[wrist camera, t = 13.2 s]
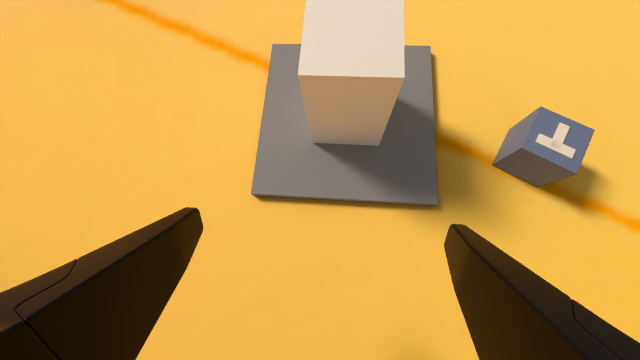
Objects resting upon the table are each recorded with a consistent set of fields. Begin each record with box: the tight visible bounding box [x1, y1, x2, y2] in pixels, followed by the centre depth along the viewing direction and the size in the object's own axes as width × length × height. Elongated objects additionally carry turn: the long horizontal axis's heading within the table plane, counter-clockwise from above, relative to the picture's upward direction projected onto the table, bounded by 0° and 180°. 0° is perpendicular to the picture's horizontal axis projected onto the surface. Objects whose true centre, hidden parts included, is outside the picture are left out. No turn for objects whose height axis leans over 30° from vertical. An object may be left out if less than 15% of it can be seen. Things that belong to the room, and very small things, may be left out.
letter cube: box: [492, 107, 594, 187], centre depth 22 cm, size 4×4×4 cm
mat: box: [251, 44, 438, 206], centre depth 25 cm, size 16×16×1 cm
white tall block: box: [298, 0, 405, 146], centre depth 20 cm, size 6×6×10 cm
